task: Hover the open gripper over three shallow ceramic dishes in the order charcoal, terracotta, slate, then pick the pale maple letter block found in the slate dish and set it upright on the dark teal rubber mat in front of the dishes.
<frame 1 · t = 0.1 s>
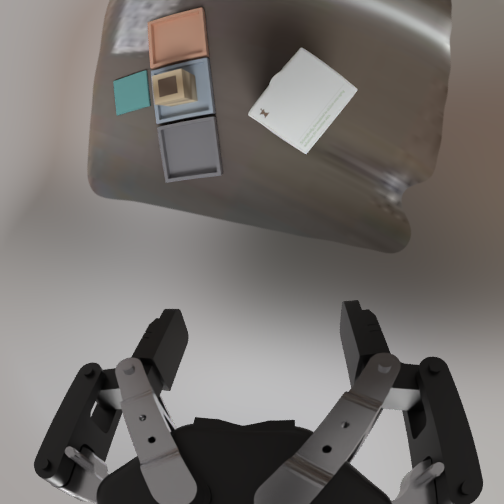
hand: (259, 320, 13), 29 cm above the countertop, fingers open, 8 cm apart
dish terracotta: (178, 39, 30), on the countertop
dish slate: (183, 91, 34), on the countertop
skincare box: (292, 110, 34), on the countertop
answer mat: (131, 92, 34), on the countertop
dish charcoal: (191, 149, 38), on the countertop
letter block: (183, 91, 33), resting on dish slate
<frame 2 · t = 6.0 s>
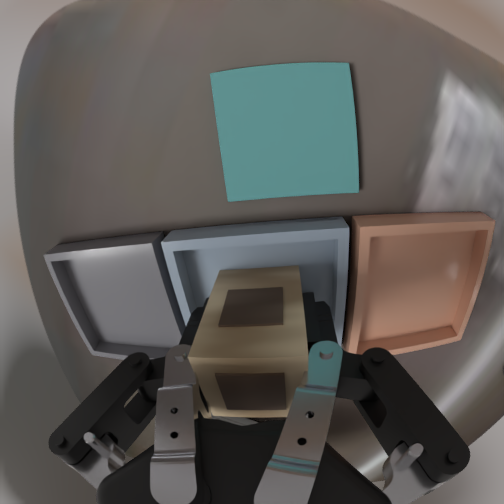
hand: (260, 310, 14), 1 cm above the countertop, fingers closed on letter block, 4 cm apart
dish terracotta: (415, 282, 14), on the countertop
dish slate: (262, 296, 15), on the countertop
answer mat: (287, 129, 11), on the countertop
dish charcoal: (122, 299, 16), on the countertop
letter block: (262, 300, 15), resting on dish slate, touching gripper
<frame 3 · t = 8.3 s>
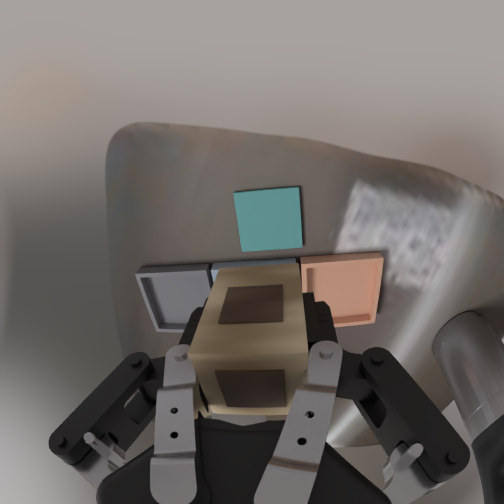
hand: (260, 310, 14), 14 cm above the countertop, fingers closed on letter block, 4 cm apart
dish terracotta: (339, 288, 29), on the countertop
dish slate: (258, 294, 30), on the countertop
skincare box: (235, 377, 38), on the countertop
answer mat: (269, 219, 26), on the countertop
dish charcoal: (181, 297, 31), on the countertop
letter block: (262, 298, 15), point 13 cm above the countertop, touching gripper
when the fingers open (2 cm above the countertop, at t = 10.6 s): letter block stays where it is, resting on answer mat.
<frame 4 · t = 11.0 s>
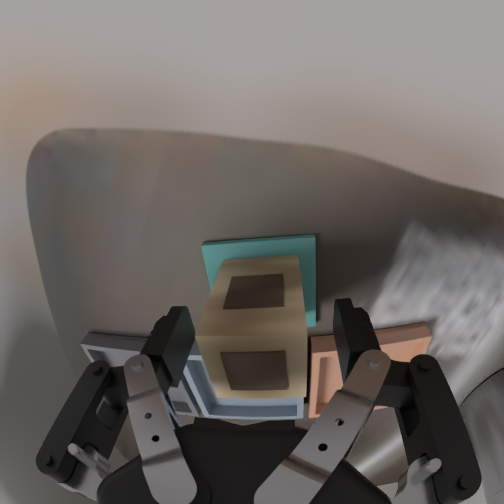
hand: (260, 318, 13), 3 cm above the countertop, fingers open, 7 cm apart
dish terracotta: (363, 369, 19), on the countertop
dish slate: (247, 378, 20), on the countertop
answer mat: (263, 286, 16), on the countertop
dish charcoal: (145, 371, 21), on the countertop
letter block: (263, 288, 16), resting on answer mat
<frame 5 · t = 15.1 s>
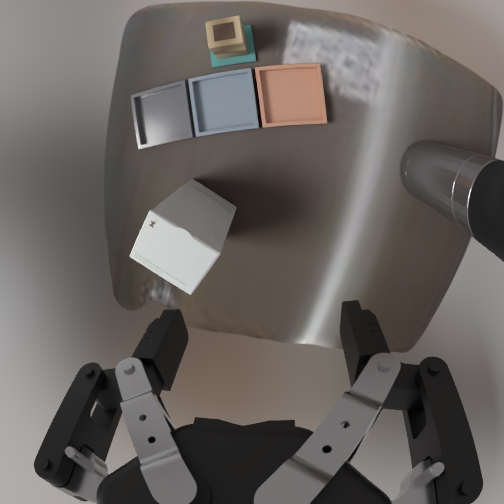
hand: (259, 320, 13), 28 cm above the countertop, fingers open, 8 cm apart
dish terracotta: (290, 95, 32), on the countertop
dish slate: (224, 102, 33), on the countertop
skincare box: (206, 207, 41), on the countertop
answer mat: (231, 46, 29), on the countertop
dish charcoal: (163, 115, 35), on the countertop
letter block: (231, 44, 29), resting on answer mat
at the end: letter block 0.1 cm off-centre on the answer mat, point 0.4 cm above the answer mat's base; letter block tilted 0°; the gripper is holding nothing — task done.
